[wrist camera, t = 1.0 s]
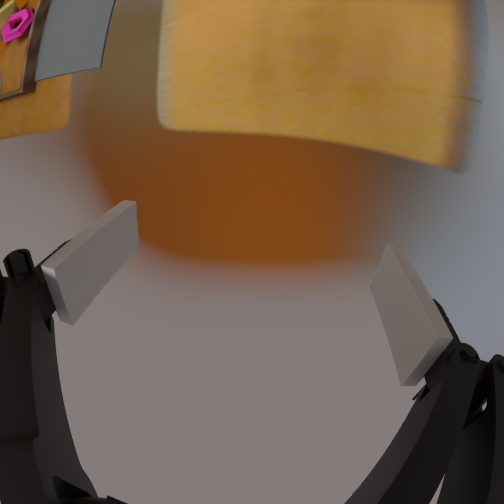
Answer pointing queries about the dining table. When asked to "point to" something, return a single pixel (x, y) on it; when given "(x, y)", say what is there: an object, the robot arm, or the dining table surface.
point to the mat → (73, 37)
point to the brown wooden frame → (31, 50)
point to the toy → (13, 21)
